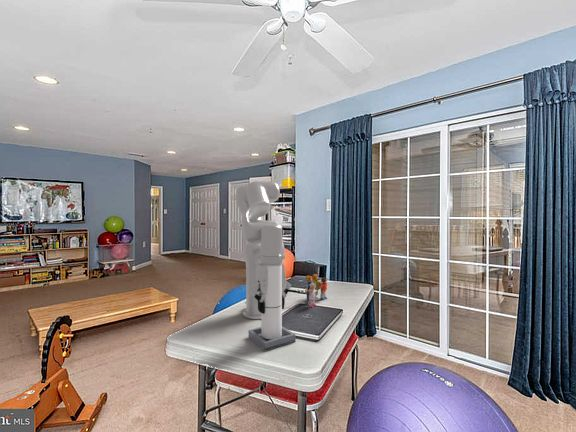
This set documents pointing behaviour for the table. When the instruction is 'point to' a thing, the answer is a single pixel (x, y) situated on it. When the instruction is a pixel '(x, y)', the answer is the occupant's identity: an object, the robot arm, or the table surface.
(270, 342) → the tray
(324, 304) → the table surface
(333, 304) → the table surface
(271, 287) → the cylindrical container
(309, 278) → the doll family
